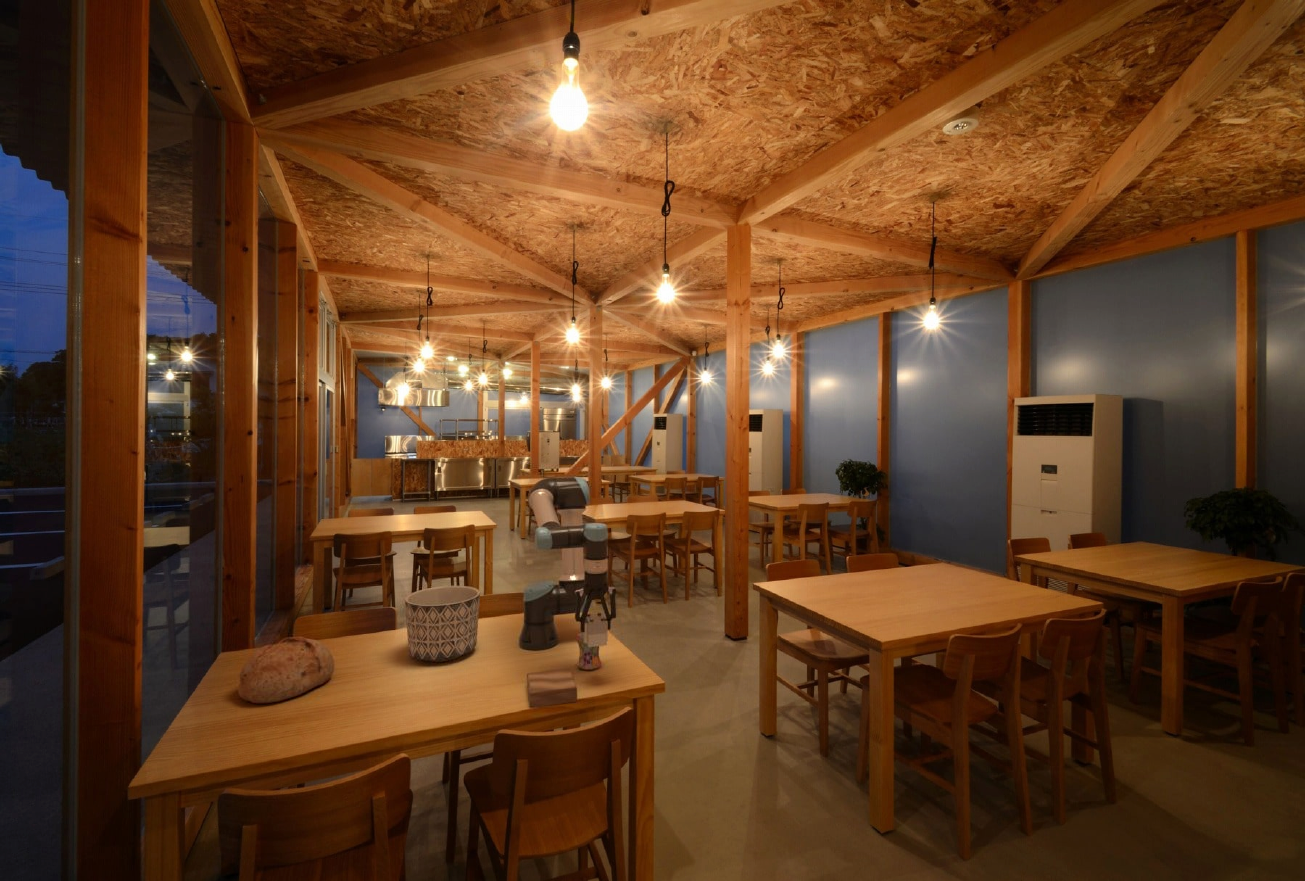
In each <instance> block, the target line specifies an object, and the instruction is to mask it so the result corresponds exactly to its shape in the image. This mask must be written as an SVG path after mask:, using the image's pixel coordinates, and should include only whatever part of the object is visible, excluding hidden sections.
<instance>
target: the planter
mask: <svg viewBox="0 0 1305 881" xmlns="http://www.w3.org/2000/svg"><path fill="white" fill-rule="evenodd" d="M480 595H481V592H480V590H479V589H478V588H475V587H473V586H467V585H444V586H435V587H434V586H433V587H430V588H429V587H428V588H424V589H420V590H416V591H414V592H411V593H410V594H408V595H406V596H405V597H404V602H405V603H404V604H405V605H404V606H405V617H406V620H405V621H406V631H407V632H406V634H407V646H408V647H407V649H408V654H409V655H410V656H411V657H412V658H413V659H417V660H419V661H420V660H422V661H427V662H430V663H431V662H433V663H439V662H448V661H452V660H455V659H457V658H460V657H461V656H464V655H466V654H468V653H471V651H473V650H474V649H475V648H476V647H477V643H478V631H479V630H478V629H479V628H478V627H479V612H480V599H481V596H480Z"/></svg>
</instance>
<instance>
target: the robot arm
mask: <svg viewBox="0 0 1305 881" xmlns="http://www.w3.org/2000/svg"><path fill="white" fill-rule="evenodd" d="M527 500H528V501H527V502H528V505H529V507H530V508H531V509H532V511H533V514H534V518H535V520H536V524H537V528H536V529H535V531H534V543H535V549H536V550H540V551H541V550H542V551H550V550H561V564H562V565H561V567H562V568H561V570H562V571H561V572H562V575H561V576H560V577H559V578H558V584H555V583H554V581H553V580H540V581H535V582H533V583H530V584H528V585H527V586H526V587H525V588H524V590H523V598H522V600H523V626H522V629H521V632H520V635H519V637H518V638H519V639H518V645H519V647H520V648H522V649H524V650H529V651H540V650H541V651H542V650H548V649H551V648H554V647H555V646H557V645H558V644H559V634H558V631H557V627H556V624H555V616H560V615H569V614H570V615H571V614H574V620H575V621H576V622H577V623H578V622H579V623H580V624H579V625H580V628H579V629H580V632H581V633H584V642H585V643H587V622H586V621H585V620H586V617H587V614H589V610H590V609H591V607H592V604H593V601H595V600H599V601H600V603H601V606H602V610H603V613H604V617H605V618H606V620H607V637H608V631H610V630H611V626H612V625H611V624H612V623H611V622H612V620H613V619H616V618H617V608H616V594H617V589H616V587H615V586H611V587H610V586H609V585H608V571H607V570H608V539H609V538H608V537H609V533H608V526H607V524H605V523H602V522H590V523H587V522H586V523H583V514H584V513H585V511H586V507H587V506H589V505H590V502H591V495H590V489H589V485H588V482H587V480H586V478H583V477H582V476H581V477H578V476H570V477H568V476H567V477H566V476H565V477H564V476H563V477H546V478H545V477H544V478H543V479H539V481H537V482H536V483H535V484H533V485H532V487H531V488H530V489H529V491H528V495H527ZM555 507H556V509H555ZM556 511H557V512H556ZM557 513H559V514H560V521H559V518H558V515H557ZM607 593H609V597H610V598H609V602H610V611H609V608H608V605H607V602H606V598H605V595H606V594H607Z"/></svg>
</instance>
